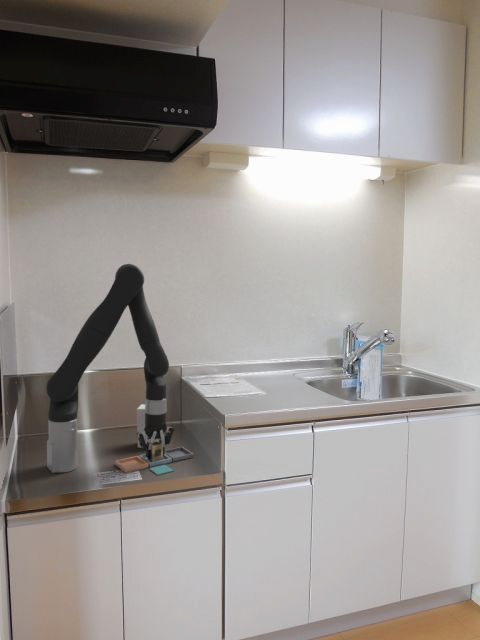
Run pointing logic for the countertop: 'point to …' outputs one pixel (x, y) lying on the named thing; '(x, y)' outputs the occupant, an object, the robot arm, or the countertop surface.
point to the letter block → (157, 451)
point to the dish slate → (152, 464)
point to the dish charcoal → (179, 454)
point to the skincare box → (141, 422)
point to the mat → (161, 469)
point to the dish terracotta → (131, 464)
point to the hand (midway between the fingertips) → (155, 457)
